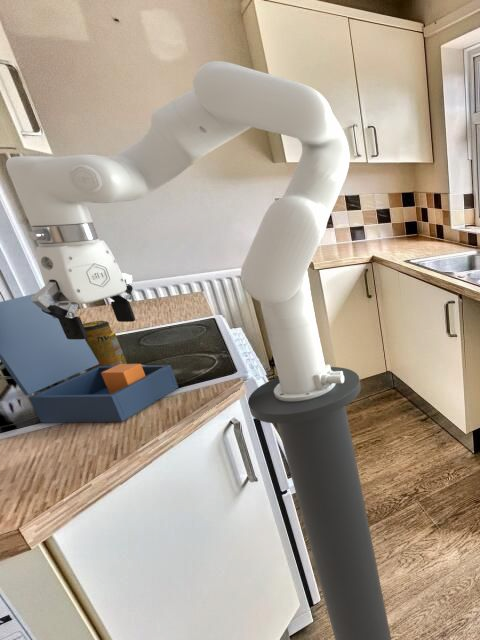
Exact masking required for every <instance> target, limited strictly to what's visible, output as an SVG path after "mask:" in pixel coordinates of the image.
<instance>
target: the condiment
mask: <svg viewBox="0 0 480 640" xmlns="http://www.w3.org/2000/svg"><path fill="white" fill-rule="evenodd" d="M82 324H83V326H84V329H85V331H86V334H87V338H86V339H85V341H86V342H87V344H88V346H89V347H90V349H91V350H92V352H93V354H94V355H95V357H96V359H97V360H98V362H99V364H98V365H96V366H93V367H91V368H90V370H92V369H94V368H96V367H98V366H117V365H119V364H128V363H127V362H128V361H127V360H126V357H125V355H124V352H123V350H122V347H121V345H120V341H119V339H118V337H117V334H116V333H115V332H114V331H113V330H112V328H111V326H110V323H109V322H108V321H107V320H95V321H90V322H86V323H82ZM141 365H142V366H143V365H144V364H141Z"/></svg>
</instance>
